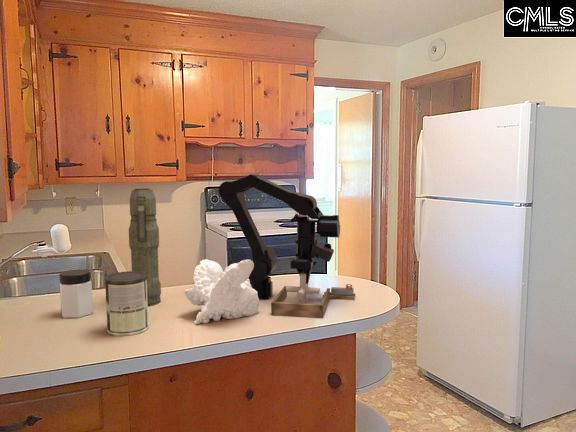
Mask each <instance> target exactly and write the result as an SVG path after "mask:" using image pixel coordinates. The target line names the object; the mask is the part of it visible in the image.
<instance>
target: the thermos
mask: <svg viewBox="0 0 576 432" xmlns="http://www.w3.org/2000/svg"><path fill="white" fill-rule="evenodd" d="M129 215H130V220H129V221H130V224H129V227H128V246H129V249H130V252H131V253H130V254H131V256H130V257H131V261H130V262H131V271H138V272H144V273H146V274H147V302H148V307H151V306H156V305H158V304H160V303H161V302H162V301H161V294H162V286H161V285H162V284H161V281H160V279H159V278H160V277H159V275H160V274H159V247H160V228H159V225H158V223H157V218H156V217H157V216H156V215H157V198H156V196H155V193H154V190H153V189H151V188H134V189H133V190H131V193H130V196H129Z"/></svg>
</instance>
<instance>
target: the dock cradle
mask: <svg viewBox="0 0 576 432" xmlns="http://www.w3.org/2000/svg"><path fill="white" fill-rule="evenodd" d="M286 286H287V285H284V286H283V287H282V289H281V290H280V291H279V292H278V293H277V295H276V296H275V297H274V299H273V300H272V301H271V303H270V304H271V305H270V306H271V309H270V311H271V313H270V314H271V316H283V317H300V318H302V317H303V318H317V319H319V318H320V319H323V318H324V315H325V313H326V311H327V307H328V305H329V303H330V300H345V301H355V300H356V293H355V292H354V296H336V295H331V288H326V291H324V292H323V295H322V300H321V303H320V304H315V303H306V304H300V302H299V303H296V302H295V303H292V302H285V301H286V299H287V298H288V292H286Z"/></svg>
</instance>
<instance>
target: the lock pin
mask: <svg viewBox="0 0 576 432" xmlns="http://www.w3.org/2000/svg"><path fill="white" fill-rule="evenodd" d="M330 292H331V295H336V296H354V293H355V292H354V287H353V284H352V283H351V284H349V283H347V284H345V287H338V286H337V287H335V286H331V288H330Z"/></svg>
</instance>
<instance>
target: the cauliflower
mask: <svg viewBox="0 0 576 432" xmlns="http://www.w3.org/2000/svg"><path fill="white" fill-rule="evenodd" d="M253 268H254V263H253V261H252V260H251V259H243V260H241V261H240V262H237V263H236V262H235V263H234V262H233V263H231V264H230V265H229V266H226V267H225V268H224V270H223V267H222V266H221V265H220V264H219V263H218V262H217V261H214V260H209V259H207V258H205V259H201V260H199V264H197V265H196V266H195V268H194V272H193V275H192V279H193V284H194V287H190V288H186V289H184V291H183V293H184V295H185V297H186V298H187V299H188V301H190V304H192V305H195V306H199V307H200V306H201V311H199V312H197V314H196V318H195V320H194V321H193V323H194V325H199V324H201V323H202V324H208V323H210V320H213V321H215V322H218V321H220V320H221V317H222V318H223V319H226V320H231V319H240V318H241V317H251V316H254V315H256V314H257V313H258V312H259V311H258V310H259V307H260V299H259V298H258V295H257V293H258V292H257V291H256V290H255V289H252V286H251V284H250V281H249V282H248V281H247V280H249V278H248V277H249V276H250V273H251V272H252V270H253Z"/></svg>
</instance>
